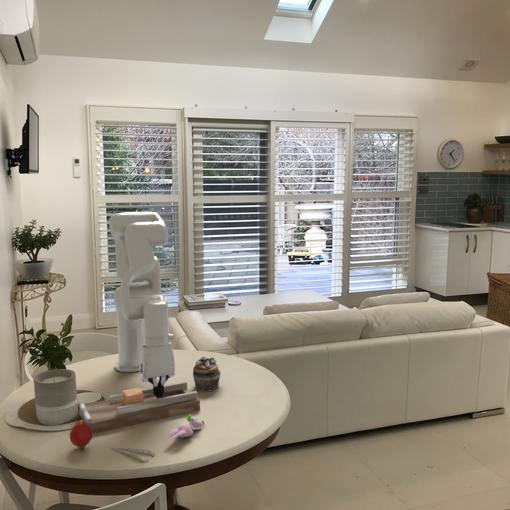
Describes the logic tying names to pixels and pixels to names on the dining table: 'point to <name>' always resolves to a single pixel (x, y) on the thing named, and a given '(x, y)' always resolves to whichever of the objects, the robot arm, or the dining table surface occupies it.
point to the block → (132, 396)
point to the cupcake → (206, 374)
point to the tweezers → (134, 451)
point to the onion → (81, 434)
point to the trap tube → (139, 408)
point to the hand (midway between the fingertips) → (158, 396)
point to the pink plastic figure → (186, 428)
